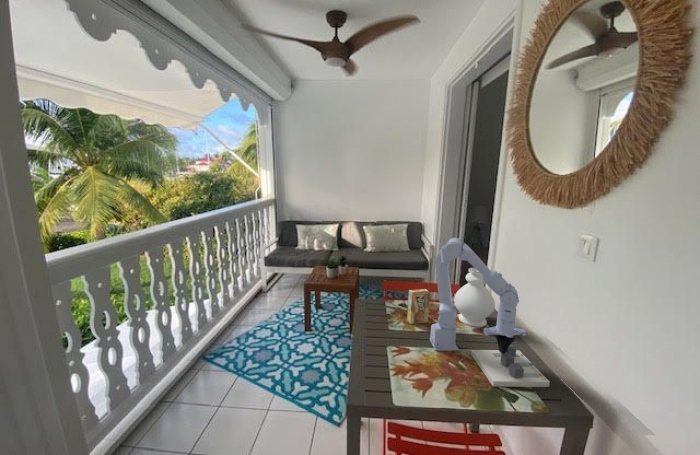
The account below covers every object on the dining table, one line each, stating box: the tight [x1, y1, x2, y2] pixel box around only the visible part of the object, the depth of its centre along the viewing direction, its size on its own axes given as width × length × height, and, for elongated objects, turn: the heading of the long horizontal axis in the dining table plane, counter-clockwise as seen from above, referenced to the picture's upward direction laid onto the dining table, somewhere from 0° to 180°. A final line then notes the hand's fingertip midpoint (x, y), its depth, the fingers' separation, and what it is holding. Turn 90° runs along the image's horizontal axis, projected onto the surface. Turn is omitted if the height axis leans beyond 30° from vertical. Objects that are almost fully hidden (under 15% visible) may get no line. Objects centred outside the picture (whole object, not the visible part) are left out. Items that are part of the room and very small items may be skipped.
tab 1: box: [506, 344, 517, 357], centre depth 107 cm, size 3×3×3 cm
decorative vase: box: [453, 267, 496, 328], centre depth 135 cm, size 18×18×25 cm
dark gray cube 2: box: [501, 353, 514, 366], centre depth 101 cm, size 3×3×3 cm
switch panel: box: [470, 349, 550, 388], centre depth 102 cm, size 18×17×2 cm
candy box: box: [406, 288, 431, 325], centre depth 133 cm, size 9×4×15 cm, turn 103°
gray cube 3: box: [509, 363, 524, 377], centre depth 96 cm, size 3×3×3 cm
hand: (502, 352), depth 107 cm, fingers closed
